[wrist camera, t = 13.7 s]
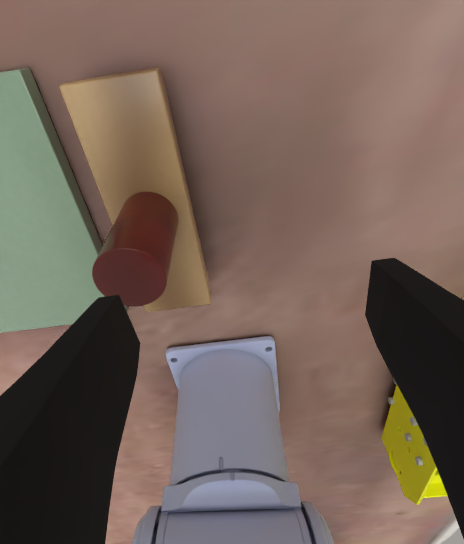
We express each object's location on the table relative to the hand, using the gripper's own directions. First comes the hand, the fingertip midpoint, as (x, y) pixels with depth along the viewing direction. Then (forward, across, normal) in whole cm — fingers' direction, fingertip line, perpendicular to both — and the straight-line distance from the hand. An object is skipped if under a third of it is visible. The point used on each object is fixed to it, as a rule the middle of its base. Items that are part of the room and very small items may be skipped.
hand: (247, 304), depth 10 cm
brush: (+10, +4, 0) cm, 11 cm away
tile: (+10, +14, +1) cm, 17 cm away
